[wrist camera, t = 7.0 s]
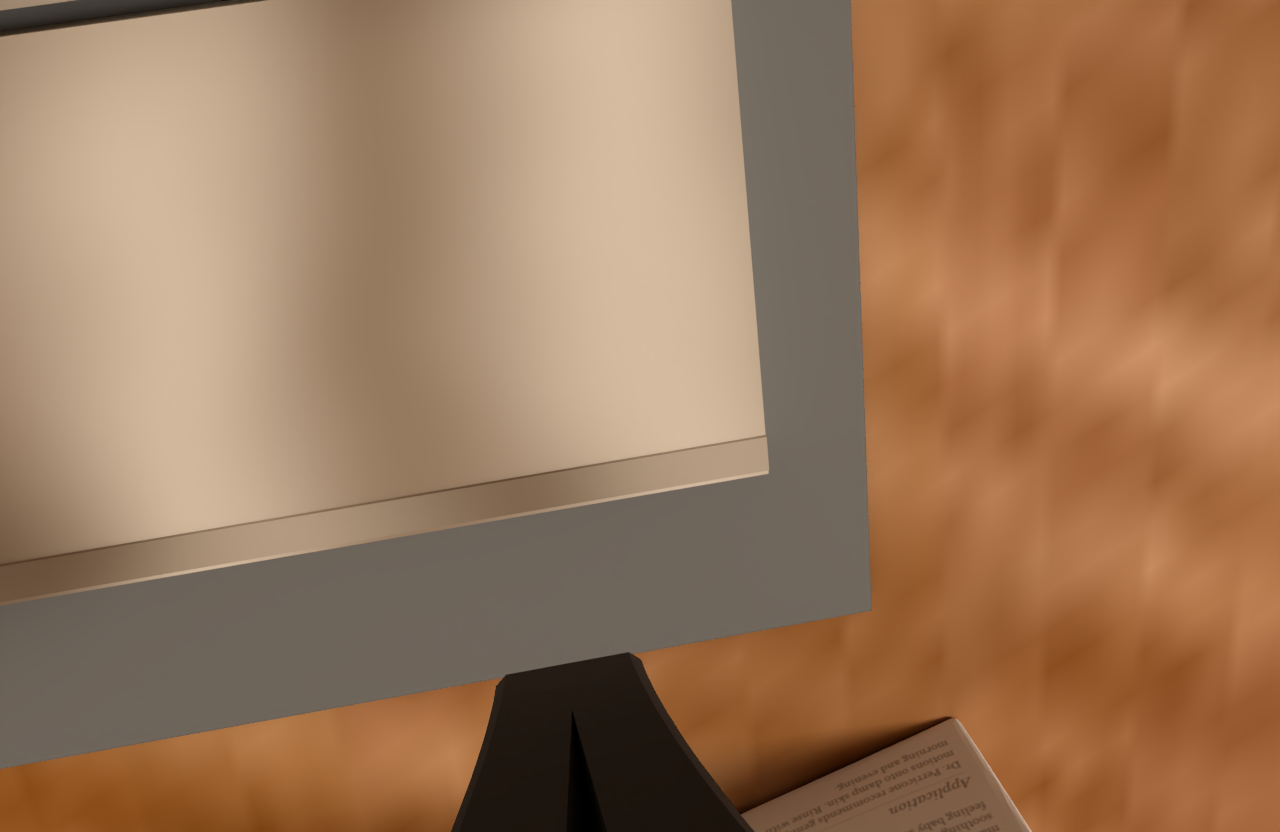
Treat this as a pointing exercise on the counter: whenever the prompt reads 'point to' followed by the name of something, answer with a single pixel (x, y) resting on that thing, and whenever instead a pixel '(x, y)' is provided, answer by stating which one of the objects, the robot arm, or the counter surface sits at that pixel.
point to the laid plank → (26, 3)
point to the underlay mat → (533, 544)
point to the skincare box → (900, 792)
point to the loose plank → (362, 276)
